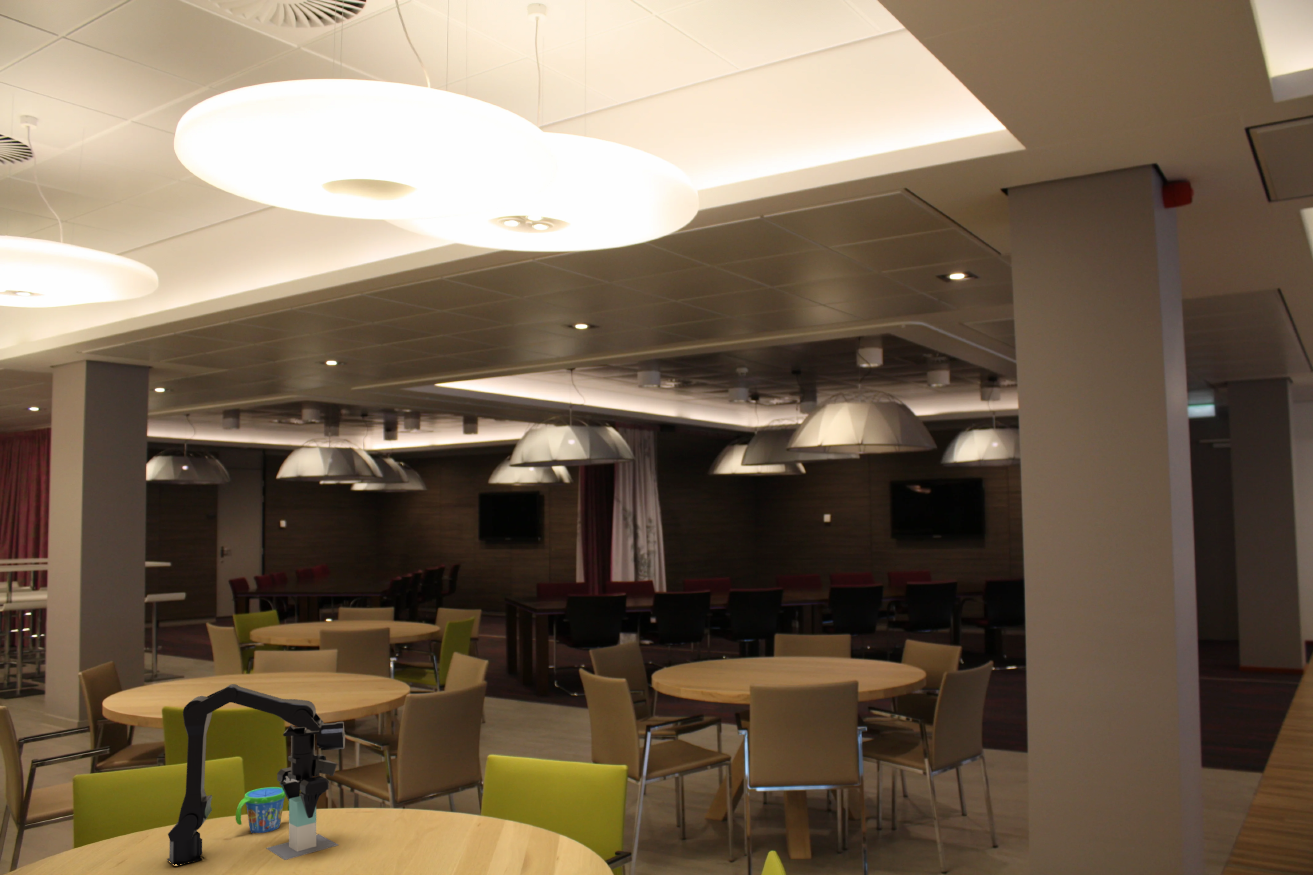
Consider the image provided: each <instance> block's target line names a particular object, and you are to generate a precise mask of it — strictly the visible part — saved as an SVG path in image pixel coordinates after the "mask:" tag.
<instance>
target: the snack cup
mask: <svg viewBox="0 0 1313 875" xmlns="http://www.w3.org/2000/svg"><path fill="white" fill-rule="evenodd" d="M285 798H286V794H285V793H284V791H283V789H282V787H279V786H269V787H261V788H260V787H259V788H256V789H253V790H249V791H247V792H246V793H245V794H244V797H243V798H242V799H241V800H240V801H239V803H238V805H237V808H236V811H235V821H236V823H237V825H239V826H241V825H242V809H243V807H244V806H246V811H247V812H246V813H247V819H248V827H249V831H250V832H251V834H256V833H257V834H261V833H262V834H263V833H268V832H272V831H275V830H278V829H279V828H280V825H281V823H282V822H281V821H282V816H283V807H284V801H285ZM287 804H288V805H287V810H288V811H289V803H287Z"/></svg>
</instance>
